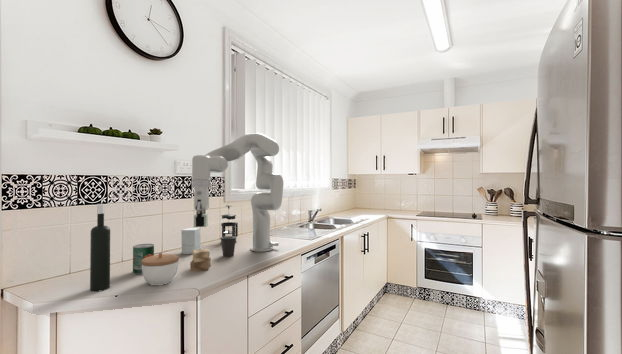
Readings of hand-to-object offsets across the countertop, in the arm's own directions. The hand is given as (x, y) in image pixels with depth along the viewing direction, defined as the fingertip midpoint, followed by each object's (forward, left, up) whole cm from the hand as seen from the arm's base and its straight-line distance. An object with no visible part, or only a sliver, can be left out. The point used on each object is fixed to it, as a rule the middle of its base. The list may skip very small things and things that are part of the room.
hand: (201, 225), depth 132 cm
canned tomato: (+23, 0, -19) cm, 30 cm away
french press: (-8, -55, -19) cm, 59 cm away
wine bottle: (+31, +19, -19) cm, 41 cm away
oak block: (0, 0, -15) cm, 15 cm away
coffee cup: (-10, -21, -19) cm, 30 cm away
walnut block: (0, 0, -19) cm, 19 cm away
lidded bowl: (+12, +16, -19) cm, 28 cm away
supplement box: (+10, -32, -19) cm, 39 cm away
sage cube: (0, 0, -1) cm, 1 cm away
